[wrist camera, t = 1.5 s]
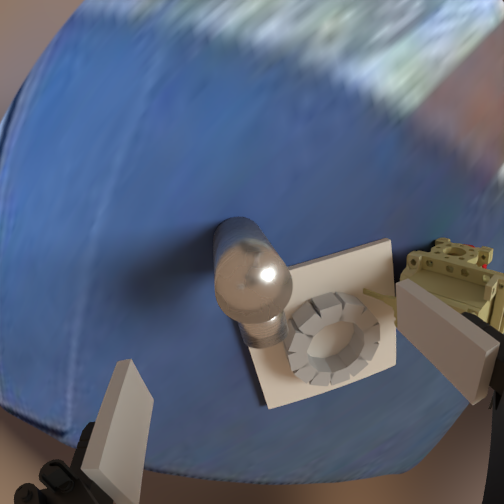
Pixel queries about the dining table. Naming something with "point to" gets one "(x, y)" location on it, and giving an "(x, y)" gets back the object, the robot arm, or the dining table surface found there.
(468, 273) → the mechanical component
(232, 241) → the elbow
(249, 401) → the dining table surface
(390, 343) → the plate
